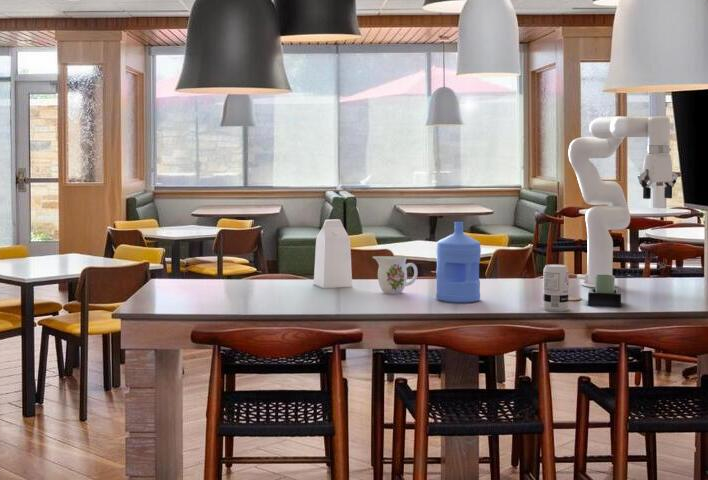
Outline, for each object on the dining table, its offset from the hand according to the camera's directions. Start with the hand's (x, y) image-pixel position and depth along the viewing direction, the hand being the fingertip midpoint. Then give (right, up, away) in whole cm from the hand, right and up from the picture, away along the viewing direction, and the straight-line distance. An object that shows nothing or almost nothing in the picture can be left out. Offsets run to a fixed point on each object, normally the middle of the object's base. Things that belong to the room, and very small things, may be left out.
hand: (657, 198), depth 349 cm
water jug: (-72, -37, 0) cm, 81 cm away
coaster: (-32, -36, +2) cm, 49 cm away
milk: (-116, -35, +35) cm, 126 cm away
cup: (-22, -37, -9) cm, 44 cm away
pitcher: (-93, -36, +17) cm, 101 cm away
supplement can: (-42, -38, -21) cm, 61 cm away
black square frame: (-22, -37, -9) cm, 44 cm away
